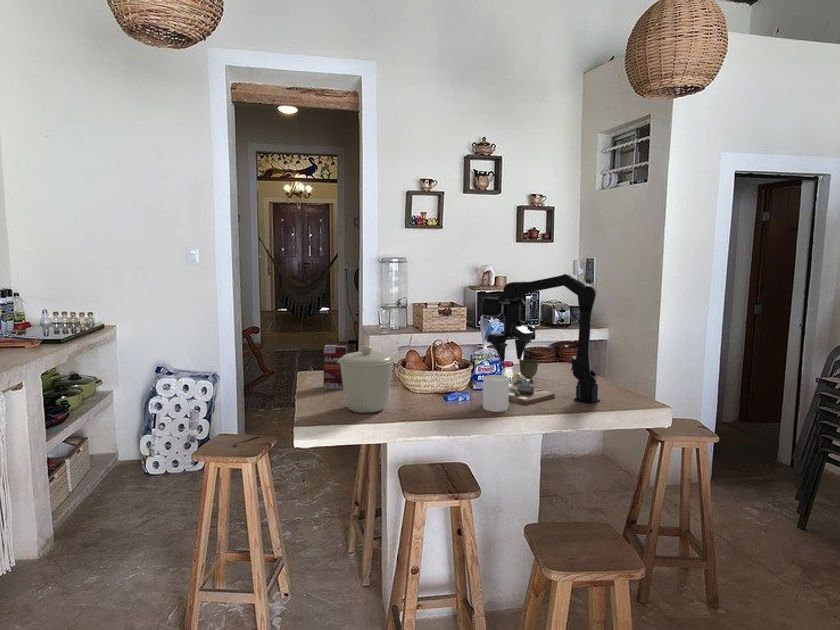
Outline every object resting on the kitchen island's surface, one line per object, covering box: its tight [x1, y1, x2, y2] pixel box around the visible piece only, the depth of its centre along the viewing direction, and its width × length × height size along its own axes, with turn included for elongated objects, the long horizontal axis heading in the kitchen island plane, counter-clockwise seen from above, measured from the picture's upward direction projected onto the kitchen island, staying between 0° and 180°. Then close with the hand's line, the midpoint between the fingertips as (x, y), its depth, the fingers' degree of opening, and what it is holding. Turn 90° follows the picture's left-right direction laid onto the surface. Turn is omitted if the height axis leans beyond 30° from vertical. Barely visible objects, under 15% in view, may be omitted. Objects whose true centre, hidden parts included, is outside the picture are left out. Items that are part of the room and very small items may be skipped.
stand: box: [508, 385, 556, 406], centre depth 195 cm, size 15×15×3 cm
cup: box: [518, 358, 539, 382], centre depth 218 cm, size 8×7×8 cm
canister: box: [338, 344, 395, 414], centre depth 178 cm, size 18×18×21 cm
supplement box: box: [322, 344, 348, 390], centre depth 205 cm, size 9×5×16 cm, turn 92°
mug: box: [482, 374, 510, 413], centre depth 182 cm, size 8×10×12 cm
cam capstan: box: [514, 372, 535, 394], centre depth 196 cm, size 11×6×5 cm, turn 12°
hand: (510, 360), depth 198 cm, fingers open, 8 cm apart
